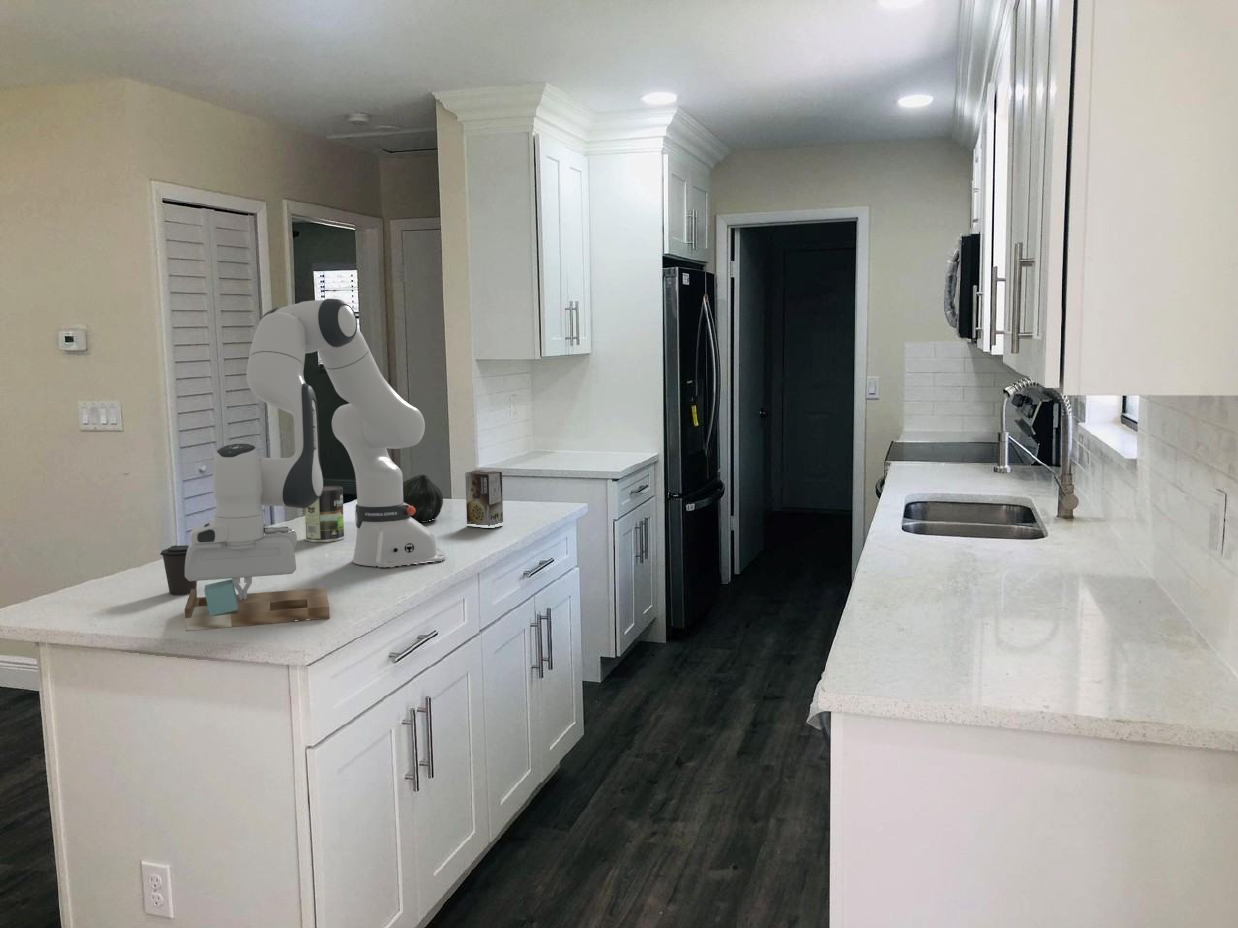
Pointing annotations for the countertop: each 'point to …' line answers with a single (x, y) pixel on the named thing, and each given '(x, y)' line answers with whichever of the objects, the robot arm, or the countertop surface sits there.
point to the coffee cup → (177, 570)
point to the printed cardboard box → (484, 497)
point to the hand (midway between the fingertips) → (242, 599)
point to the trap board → (259, 609)
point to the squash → (423, 497)
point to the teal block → (221, 597)
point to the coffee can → (326, 516)
